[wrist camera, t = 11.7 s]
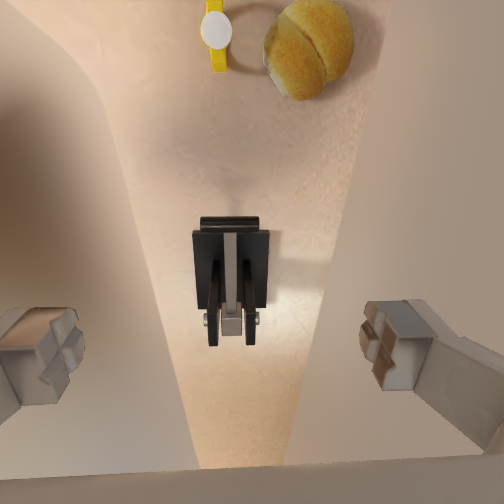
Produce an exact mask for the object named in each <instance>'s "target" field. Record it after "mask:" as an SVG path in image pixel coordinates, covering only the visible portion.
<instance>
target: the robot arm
mask: <svg viewBox="0 0 504 504" xmlns="http://www.w3.org/2000/svg"><path fill="white" fill-rule="evenodd" d="M364 314H365V316H366V318H367V320H366V321H365V322H364V323H363V324H362V325H361V328H360V333H359V336H360V346H361V349H362V352H363V354H364V356H365V358H366V359H367V360H369V361H370V362H372V363H373V368H372V372H373V374H374V376H375V378H376V380H377V382H378V383H379V385H380V387H381V389H382V391H406V390H408V391H409V390H414V393H416V394H417V395H418V396H419V397H420V398H421V399H423V400H424V401H425V402H426V403H427V404H429V405H430V406H431V407H432V408H433V409H434V410H436V411H437V412H438V413H439V414H441V415H442V416H443V417H444V418H445V419H446V420H448V421H449V422H450V423H451V424H452V425H454V426H455V427H456V428H457V429H459V430H460V431H461V432H462V433H463V434H464V435H466V436H467V437H468V438H469V439H470V440H472V441H473V442H474V443H475V444H476V445H478V446H479V447H480V448H481V449H482V450H484V452H483V454H482V455H464V456H445V457H426V458H408V459H407V458H406V459H388V460H370V461H351V462H333V463H316V464H297V465H278V466H260V467H240V468H221V469H202V470H184V471H163V472H144V473H124V474H105V475H87V476H68V477H50V478H49V477H48V478H30V479H11V480H0V504H504V356H503V355H501V354H498V353H497V352H494V351H493V350H490V349H488V348H486V347H484V346H482V345H480V344H478V343H476V342H474V341H472V340H470V339H468V338H466V337H458V335H457V334H456V333H455V332H454V331H453V330H452V329H451V328H450V327H449V326H448V325H447V324H446V323H445V322H444V321H443V320H442V319H441V318H440V317H439V316H438V315H437V314H436V313H435V311H434V310H433V309H432V308H431V307H430V306H429V305H428V304H427V303H426V302H425V301H423V300H421V299H411V300H401V301H369V302H368V303H367V304H366V306H365V310H364ZM78 320H79V318H78V316H77V313H76V310H75V309H73V308H70V307H69V308H68V307H65V308H63V307H61V308H60V307H58V308H57V307H53V308H52V307H51V308H50V307H45V308H44V307H43V308H42V307H40V308H39V307H36V308H35V307H34V308H12V309H9V310H7V311H6V312H5V313H4V314H3V315H2V316H1V317H0V425H1V424H2V423H3V422H5V421H6V420H7V419H8V418H9V417H11V416H12V415H13V414H14V413H16V412H17V411H18V410H19V409H20V408H21V406H27V405H43V404H57V403H58V401H59V400H60V398H61V396H62V394H63V392H64V391H65V389H66V387H67V386H68V384H69V382H70V379H69V376H68V374H69V373H71V372H72V371H74V370H75V369H77V368H78V366H79V365H80V363H81V361H82V359H83V355H84V351H85V339H84V335H83V332H81V331H80V330H79V329H78V328H76V327H75V326H76V324H77V322H78Z"/></svg>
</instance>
